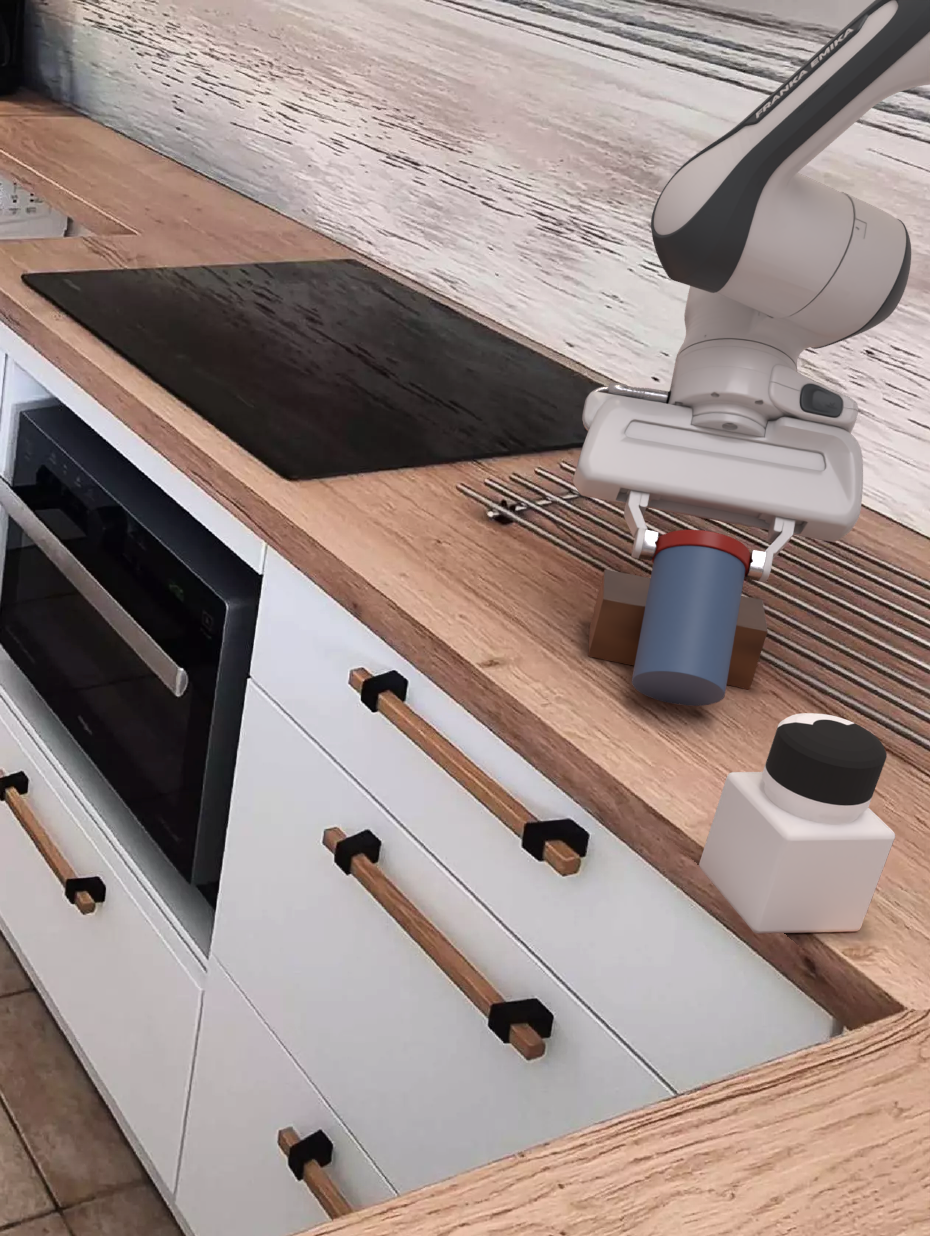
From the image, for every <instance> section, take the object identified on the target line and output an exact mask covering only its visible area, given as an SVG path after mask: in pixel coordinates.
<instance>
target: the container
mask: <svg viewBox="0 0 930 1236" xmlns="http://www.w3.org/2000/svg"><path fill="white" fill-rule="evenodd" d="M750 557H751V551H750V550H749V548H748V547H747V546H746V544H744V543H743V542H742V541H740V540H738V539H736V538H734V537H731V536H729V535H726V534H723V533H719V532H715V531H711V530H702V529H679V530H673V531H669V532H666V533H663V534H661V535H660V536H658V539H657V542H656V550H655V554H654V556H653V557H652V560H651V562H652V568H651V573H650V578H651V579H650V584H649V589H648V595H647V600H646V606H645V611H644V617H643V622H642V628H641V633H640V639H639V644H638V649H637V655H636V660H635V666H633V671H632V678H631V684H632V686H633V688H634V689H636V691H637V692H639V693H640V694H642V695H645V696H646V697H648V698H651V699H652V700H653V699H654V700H656V701H659V702H664V703H667V704H671V705H679V706H690V707H691V706H694V707H699V706H700V707H701V706H709V705H713V704H717V703H719V702H721V701H722V700H724V698H725V696H726V690H727V686H728V685H727V679H728V672H729V666H730V660H731V654H732V648H733V642H734V636H735V630H736V624H737V618H738V612H739V606H740V600H741V596H742V593H743V586H744V581H745V575H746V574H747V572H748V569H749V563H750Z"/></svg>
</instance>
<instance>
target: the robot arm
mask: <svg viewBox="0 0 930 1236" xmlns="http://www.w3.org/2000/svg"><path fill="white" fill-rule="evenodd" d="M929 85H930V0H874V1H872V2H871V3H870V4H868V5H867V7H866V8H864V9H863V10H862V11H861V12H860V13H859V14H858V15H856V16H855V17H854V18H853V19H852V20H851V21H850V22H849V23H847V24H846V25H845V26H844V27H843V28H842V29H841V30H840V31H839V32H837V33H836V34H835V35H834V36H833V37H832V38H831V39H830V40H829V41H828V42H827V43H826V44H824V45H823V46H822V47H821V48H820V49H819V50H818V51H817V52H816V53H814V55H813V56H811V57H810V58H809V59H808V60H806V62H805V63H804V64H802V65H801V67H800V68H798V69H797V70H796V71H795V72H794V73H793V74H792V75H791V76H790V77H789V78H788V79H787V80H785V81H784V82H783V83H782V84H781V85H780V86H779V87H778V88H776V89H775V90H774V91H773V92H772V93H771V94H770V95H769V96H768V97H767V98H765V99H764V101H762V102H761V103H760V104H759V105H758V106H757V107H755V109H754V110H752V111H751V112H750V113H749V114H748V115H747V116H746V117H745V118H744V119H742V120H741V121H740V122H739V123H738V124H736V125H735V126H734V127H733V128H732V129H730V130H729V131H728V132H726V133H725V134H724V135H722V136H720V137H719V138H718V139H716V140H715V141H714V142H712V143H710V144H709V145H707V146H706V147H704V148H703V149H702V150H700V151H698V152H697V153H695V154H694V155H693V156H692V157H690V159H688V160H687V161H686V162H685V163H683V164H682V165H681V166H680V167H679V169H677V170H676V171H675V173H674V174H673V175H672V177H671V178H670V179H669V180H668V182H667V183H666V184H665V186H664V187H663V189H662V191H660V194H659V196H658V197H657V200H656V202H655V205H654V207H653V209H652V213H651V218H650V230H651V236H652V237H651V238H652V242H653V246H654V250H655V253H656V256H657V258H658V260H659V262H660V264H661V267H662V268H663V270H664V272H665V274H666V276H667V277H668V278H669V279H670V280H672V281H673V282H677V283H679V284H683V285H686V286H688V287H689V289H688V293H687V298H686V303H685V308H684V314H683V316H684V318H683V319H684V326H685V336H684V340H683V342H682V345H681V346H680V348H679V350H678V351H677V353H676V357H675V362H674V366H673V372H672V377H671V381H670V387H669V390H663V389H657V388H651V387H637V386H630V385H628V384H626V383H621V382H610V383H609V384H608V386H600V387H597V388H595V389H593V390H592V391H591V392H589V394H588V395H587V397H585V399H584V400H585V401H584V405H583V410H582V415H581V420H582V424H583V427H584V429H585V430H586V431H587V434H586V436H585V439H584V441H583V444H582V447H581V449H580V452H579V453H580V454H579V457H578V459H577V464H576V467H575V471H574V475H573V478H572V483H573V485H574V487H575V488H576V490H577V493H579V495H580V496H582V497H587V498H592V499H597V500H603V501H608V502H613V503H620V504H625V505H624V512H623V518H624V520H625V522H626V524H627V527H628V529H629V531H630V533H631V536H632V538H634V539H633V543H632V550H631V558H633V559H638V560H645V561H650V562H652V557H653V556H654V554H655V550H656V542H657V539H658V537H659V531H655V530H649V528H648V526H647V523H646V521H645V519H644V516H645V512H646V510H647V509H652V510H657V511H662V512H667V513H674V514H680V515H684V516H690V517H695V518H700V519H706V520H712V521H716V522H717V521H718V522H721V523H727V524H732V525H733V524H734V525H739V526H745V527H749V528H754V529H759V530H765V531H767V536H766V537H767V538H766V541H767V542H768V543H771V544H770V545H769V546H768V547H767V548H766V549H765V550H764V551H762V550H756V549H752V551H750V555H751V557H750V563H749V569H748V572H747V574H746V575H745V576H744V580H750V581H754V582H759V583H765V584H766V582H767V581H768V579H769V577H770V575H771V572H772V566H773V561H774V559H775V558H776V557H777V556H778V555H779V553H780V552H782V550H783V549H784V548H785V547H786V546H787V545H788V543H789V542H790V540H791V539H792V537H793V536H799V537H804V538H809V539H814V540H819V541H826V542H831V543H835V542H838V541H840V540H842V539H843V538H844V537H846V536H847V535H848V534H849V533H850V532H851V531H852V530H853V529H854V527H855V526H856V524H857V522H858V520H859V518H860V516H861V511H862V510H861V509H862V503H863V490H864V489H863V488H864V460H863V459H864V458H863V452H862V448H861V445H860V443H859V441H858V440H857V438H856V437H855V436H854V435H853V434H851V433H852V432H853V430H854V427H855V424H856V423H857V422H856V421H857V419H858V414H859V405H858V402H856V400H854V399H853V398H852V397H849V396H848V395H846V394H843V393H841V392H839V391H837V390H834V389H832V388H830V387H828V386H826V385H824V384H822V383H819V382H818V381H815V380H814V379H812V378H809V377H808V376H806V375H804V374H802V373H800V372H798V360H799V356H800V355H801V354H802V353H803V352H804V351H805V350H807V349H809V348H811V349H813V350H819V349H822V348H826V347H829V346H831V345H834V344H837V343H840V342H843V341H846V340H848V339H850V338H852V337H853V338H854V337H856V336H858V335H860V334H862V333H864V332H867V331H869V330H871V329H873V328H874V327H876V326H878V325H880V324H881V323H883V322H884V321H885V320H887V319H888V318H889V317H891V315H892V314H893V313H894V311H895V310H896V309H897V307H898V305H900V302H901V300H902V297H903V296H904V293H905V290H906V287H907V285H908V281H909V276H910V271H911V265H912V244H911V243H912V242H911V238H910V233H909V231H908V229H907V226H906V225H905V223H904V222H903V221H902V220H901V219H899V218H896V217H895V216H893V215H892V214H890V213H889V212H886V211H885V210H883V209H880V208H878V207H877V206H875V205H872V204H870V203H868V202H866V201H864V200H861V199H860V198H857V197H855V196H853V195H850V194H849V193H846V192H844V191H840V190H837V189H835V188H833V187H830V186H828V185H827V184H824V183H822V182H820V181H818V180H815V179H813V178H811V177H809V176H806V175H804V174H803V173H801V172H800V171H801V170H803V168H805V167H806V166H807V165H808V164H809V163H810V162H812V161H813V160H814V159H815V158H816V157H818V155H820V154H821V153H822V152H823V151H824V150H825V149H827V147H829V146H830V145H832V143H833V142H834V141H835V140H837V139H838V138H839V137H840V136H841V135H842V134H843V133H845V132H846V131H847V130H849V128H851V127H852V126H853V125H854V124H855V123H856V122H857V121H859V120H860V119H861V118H862V117H864V115H865V114H867V113H868V112H869V111H870V110H871V109H872V108H874V107H876V105H878V104H879V103H881V102H882V101H883V100H885V99H888V98H889V97H892V96H893V95H895V94H898V93H900V92H903V91H907V90H910V89H914V88H917V87H923V86H929Z"/></svg>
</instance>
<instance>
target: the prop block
mask: <svg viewBox="0 0 930 1236" xmlns="http://www.w3.org/2000/svg"><path fill="white" fill-rule="evenodd" d="M650 579H651V577H647V576H641V575H636V574H633V573H632V574H631V573H626V572H621V571H616V570H611V569H604V570H603V573H602V577H601V581H600V585H599V589H598V593H597V596H596V601H595V604H594V608H593V612H592V616H591V620H590V624H589V634H588V637H589V638H588V655H587V656H588V657H590V658H595V659H599V660H604V661H608V662H609V661H610V662H615V663H619V664H624V665H630V666H633V667H634V666H635V660H636V655H637V649H638V644H639V639H640V633H641V628H642V622H643V617H644V611H645V606H646V600H647V595H648V589H649V584H650ZM768 632H769V631H768V624H767V619H766V611H765V605H764V600H763V599H759V598H755V597H750V596H744V595H741V600H740V606H739V612H738V618H737V624H736V630H735V636H734V642H733V648H732V654H731V660H730V666H729V672H728V679H727V685H726V686H732V687H735V688H740V689H741V688H742V689H746V690H750V689H751V686H752V683H753V680H754V676H755V673H756V671H757V667H758V663H759V662H760V661H759V660H760V658H761V654H762V651H763V648H764V645H765V642H766V638H767V635H768Z"/></svg>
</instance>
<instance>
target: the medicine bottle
mask: <svg viewBox="0 0 930 1236" xmlns="http://www.w3.org/2000/svg"><path fill="white" fill-rule="evenodd" d="M887 754H888V753H887V751H886V749H885V747H884V744H883V743H882V741H881V740H880V739H879V738H878V737H877V736H876V735H875V734H873V733H872V732H871V731H870V730H868V729H866V728H864V727H863V726H861V725H859V724H857V723H855V722H854V721H851V720H849V719H845V718H843V717H840V716H836V715H831V714H826V713H813V712H802V713H801V712H800V713H795V714H792V715H789V716H787V717H786V718H784V719H782V720H781V721H780V722H779V723H778V725H777V727H776V730H775V733H774V737H773V740H772V743H771V746H770V749H769V751H768V755H767V758H766V760H765V764H764V767H763V769H762V771H732V772H729V773H728V774H727V776H726V778H725V781H724V784H723V787H722V791H721V793H720V797H719V799H718V800H719V801H718V803H717V805H716V810H715V813H714V816H713V818H712V822H711V825H710V828H709V830H708V835H707V838H706V841H705V844H704V847H703V851H702V852H701V857H700V860H699V863H698V866H699V869H700V870H701V871H702V873H703V874H704V876H706V877H707V878H708V880H709V881H710V882H711V884H713V886H714V887H715V888H716V889H717V890H718V892H719V893H720V894H721V895H722V897H724V899H725V900H726V901H727V903H728V904H729V905H730V906H731V907H732V908H733V910H734V911H735V912H736V913H737V914H738V915H739V917H740V918H741V919H742V920H743V921H744V923H745V924H746V925H747V926H748V927H749V929H750V930H751V931H752V932H753V933H754V934H757V935H759V934H795V933H798V934H799V933H800V934H801V933H838V932H842V933H843V932H858V931H860V929H861V928H862V926H863V924H864V921H865V919H866V916H867V913H868V911H869V908H870V905H871V903H872V900H873V896H874V894H875V892H876V889H877V887H878V884H879V881H880V879H881V876H882V874H883V871H884V868H885V865H886V863H887V860H888V857H889V855H890V852H891V850H892V847H893V844H894V841H895V839H896V833H895V832H894V831H893V829H892V828H890V826H888V825H887V824H886V823H885V822H884V820H883V819H881V818H880V817H879V816H878V815H877V814H876V813H875V812H874V811H873V810H872V809H871V808H870V804H871V802H872V799H873V796H874V793H875V790H876V787H877V785H878V782H879V780H880V778H881V775H882V772H883V768H884V766H885V764H886V761H887V758H888V756H887Z"/></svg>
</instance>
